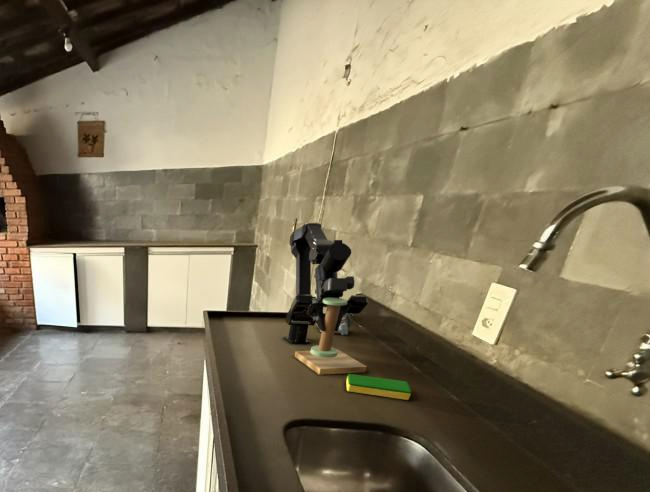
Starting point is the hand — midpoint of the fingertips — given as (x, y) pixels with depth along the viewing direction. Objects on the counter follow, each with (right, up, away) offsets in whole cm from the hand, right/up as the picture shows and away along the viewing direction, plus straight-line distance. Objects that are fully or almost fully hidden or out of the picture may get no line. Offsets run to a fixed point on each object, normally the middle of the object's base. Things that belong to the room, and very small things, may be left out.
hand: (330, 331), depth 115 cm
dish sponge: (+9, -17, -6) cm, 20 cm away
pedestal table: (0, -6, +4) cm, 7 cm away
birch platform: (+5, -8, +12) cm, 15 cm away
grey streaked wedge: (+22, +6, +40) cm, 46 cm away
